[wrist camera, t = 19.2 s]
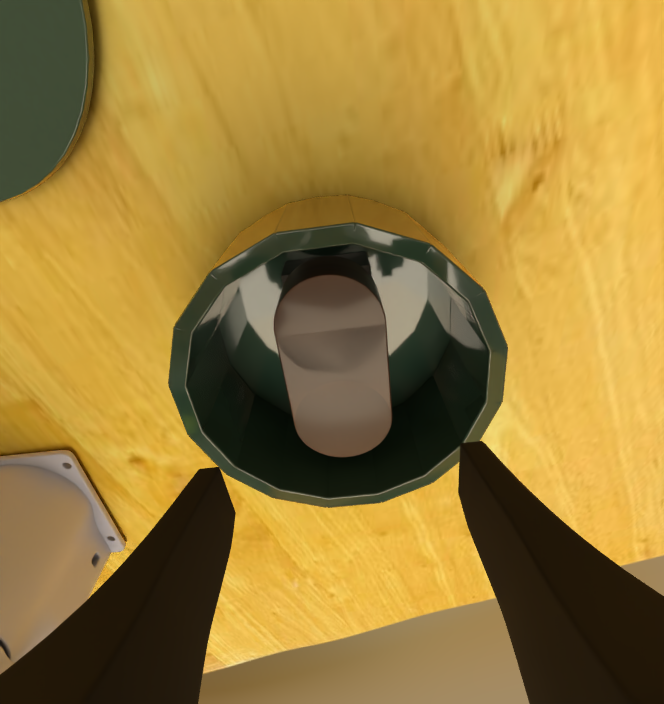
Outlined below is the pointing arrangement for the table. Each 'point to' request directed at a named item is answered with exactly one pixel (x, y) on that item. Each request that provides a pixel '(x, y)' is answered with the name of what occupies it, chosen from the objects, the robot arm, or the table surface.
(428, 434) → the pot
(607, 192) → the table surface
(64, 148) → the lid
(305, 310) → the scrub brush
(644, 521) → the table surface
